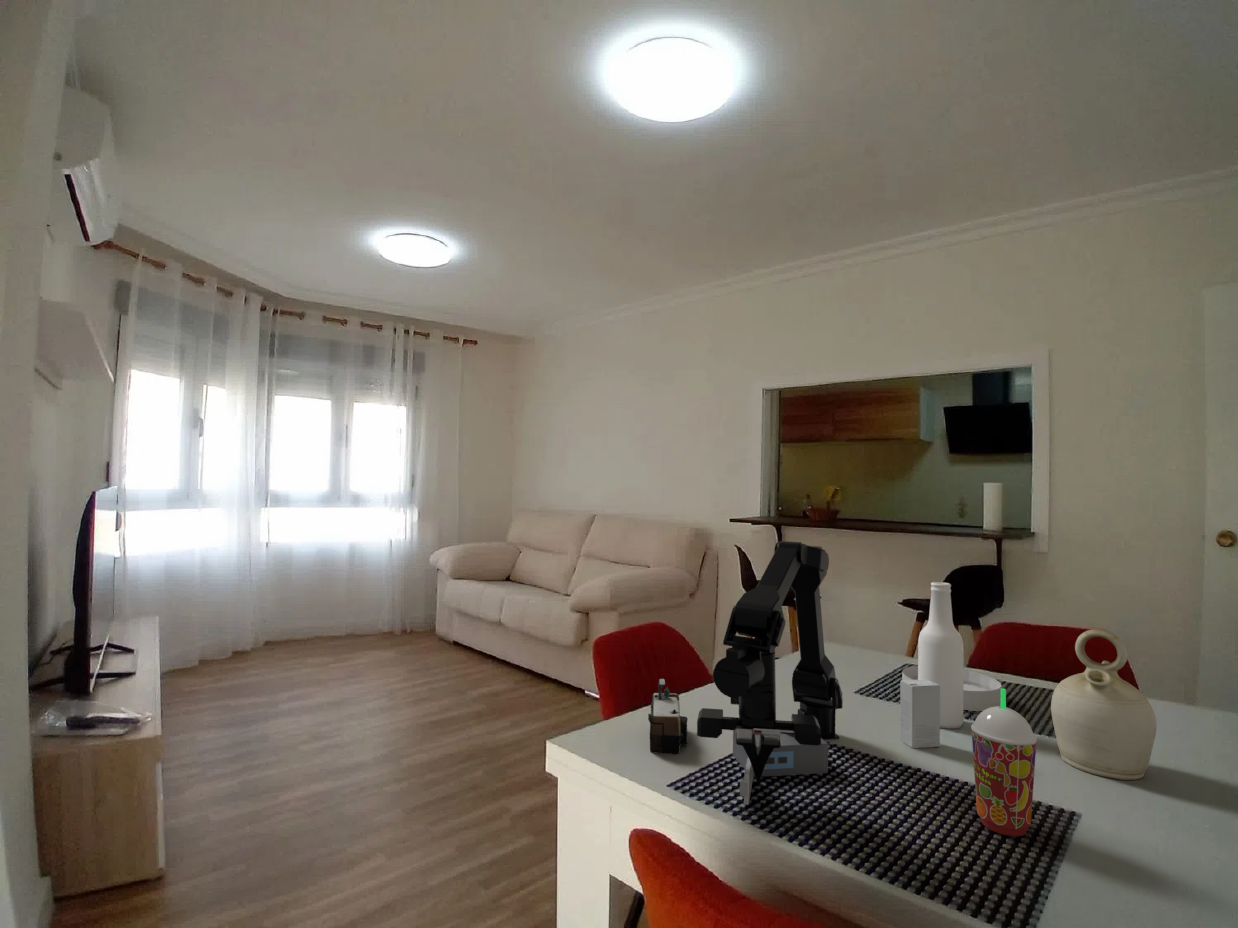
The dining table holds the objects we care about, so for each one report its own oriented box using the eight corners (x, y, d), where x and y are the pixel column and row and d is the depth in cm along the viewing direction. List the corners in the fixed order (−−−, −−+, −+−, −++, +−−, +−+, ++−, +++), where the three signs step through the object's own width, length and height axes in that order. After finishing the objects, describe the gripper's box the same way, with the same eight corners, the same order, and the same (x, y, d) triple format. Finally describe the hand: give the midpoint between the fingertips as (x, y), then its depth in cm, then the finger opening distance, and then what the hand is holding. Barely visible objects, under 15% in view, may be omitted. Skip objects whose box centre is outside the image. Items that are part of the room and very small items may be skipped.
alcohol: (959, 732, 130) (959, 587, 132) (913, 722, 136) (914, 582, 137) (966, 721, 137) (966, 583, 139) (922, 712, 143) (923, 579, 144)
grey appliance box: (803, 751, 118) (804, 719, 118) (828, 773, 109) (828, 738, 109) (732, 755, 116) (733, 721, 116) (752, 777, 106) (752, 741, 107)
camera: (687, 757, 114) (689, 701, 115) (646, 753, 115) (647, 698, 116) (687, 727, 129) (689, 677, 130) (651, 724, 130) (652, 675, 131)
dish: (911, 679, 170) (911, 660, 171) (1006, 696, 158) (1006, 676, 158) (892, 699, 152) (892, 678, 153) (998, 720, 140) (998, 697, 140)
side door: (749, 805, 96) (750, 774, 96) (739, 803, 97) (740, 772, 97) (753, 777, 106) (754, 748, 106) (744, 775, 107) (745, 747, 107)
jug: (1130, 792, 105) (1128, 641, 107) (1033, 756, 119) (1033, 623, 120) (1174, 775, 112) (1172, 634, 114) (1078, 744, 126) (1077, 618, 127)
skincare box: (926, 739, 126) (926, 678, 127) (941, 748, 122) (941, 684, 122) (898, 740, 125) (898, 678, 126) (912, 749, 121) (912, 685, 121)
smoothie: (958, 812, 96) (959, 680, 97) (1010, 812, 97) (1009, 680, 98) (995, 842, 88) (995, 697, 89) (1051, 841, 89) (1050, 697, 90)
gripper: (812, 670, 106) (813, 764, 105) (701, 664, 110) (701, 755, 109) (820, 690, 95) (822, 795, 94) (696, 682, 99) (697, 784, 98)
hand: (758, 781), depth 99 cm, fingers closed
